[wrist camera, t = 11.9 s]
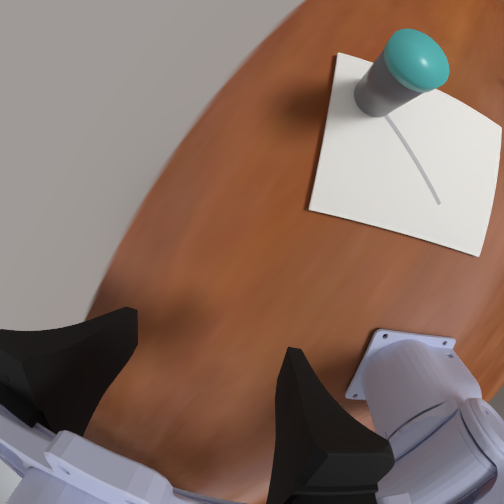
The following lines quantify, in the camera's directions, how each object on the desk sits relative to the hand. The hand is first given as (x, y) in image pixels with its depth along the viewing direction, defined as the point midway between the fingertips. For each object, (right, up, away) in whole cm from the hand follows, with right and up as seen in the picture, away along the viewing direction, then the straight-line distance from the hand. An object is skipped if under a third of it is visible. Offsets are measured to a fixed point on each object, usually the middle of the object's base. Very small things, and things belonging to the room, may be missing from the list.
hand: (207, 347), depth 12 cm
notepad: (+15, +11, +5) cm, 19 cm away
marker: (+11, +15, +4) cm, 19 cm away
